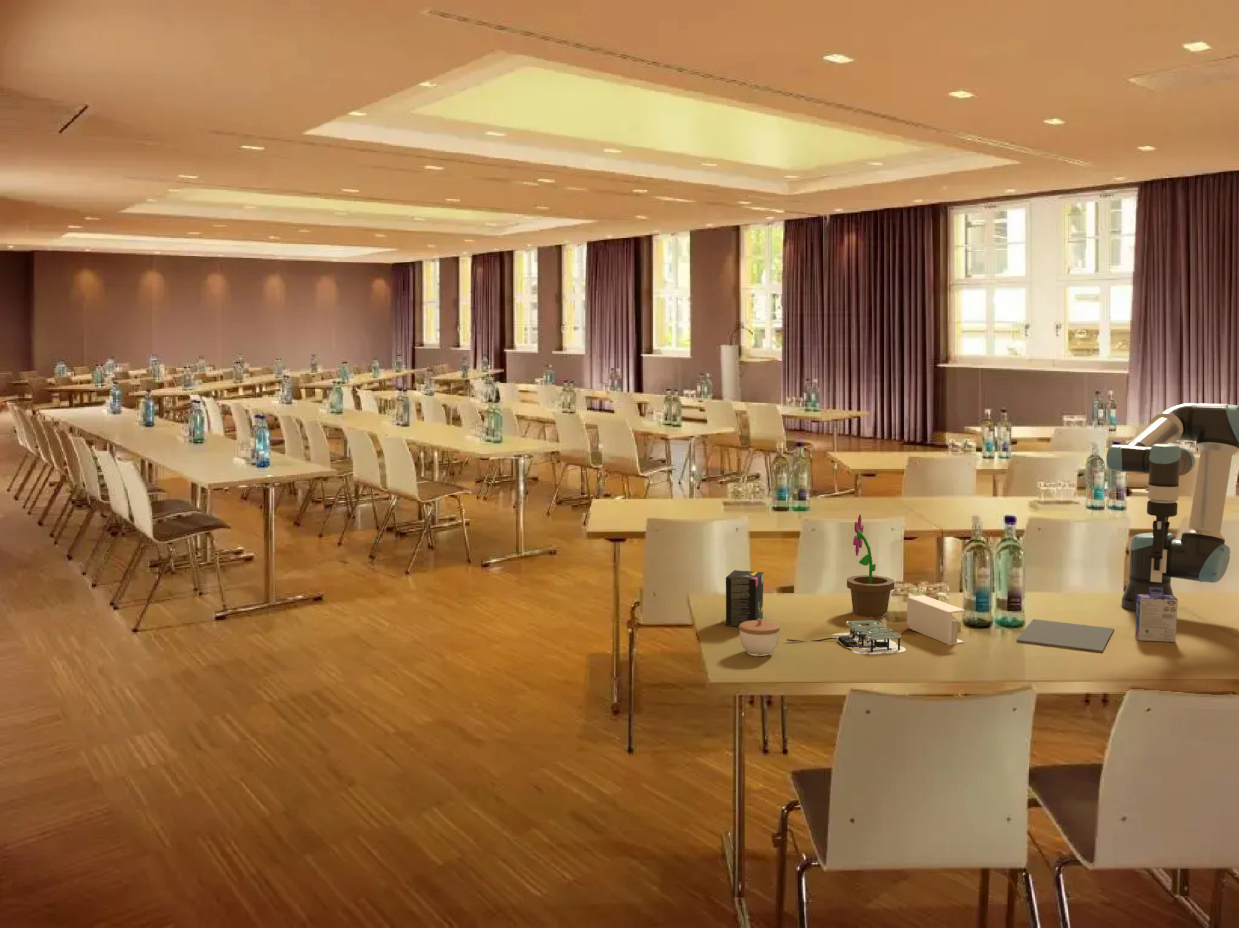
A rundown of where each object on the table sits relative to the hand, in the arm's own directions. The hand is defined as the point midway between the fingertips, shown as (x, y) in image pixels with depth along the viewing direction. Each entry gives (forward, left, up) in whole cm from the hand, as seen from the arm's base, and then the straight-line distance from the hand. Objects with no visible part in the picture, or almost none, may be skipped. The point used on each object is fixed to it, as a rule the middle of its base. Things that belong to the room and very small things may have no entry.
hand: (1158, 577), depth 316 cm
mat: (+8, -22, -18) cm, 29 cm away
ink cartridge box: (0, 0, -18) cm, 18 cm away
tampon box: (+38, -107, -18) cm, 115 cm away
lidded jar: (+65, -91, -18) cm, 113 cm away
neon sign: (+46, -74, -18) cm, 89 cm away
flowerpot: (+10, -78, -18) cm, 81 cm away
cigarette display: (+25, -55, -18) cm, 63 cm away
